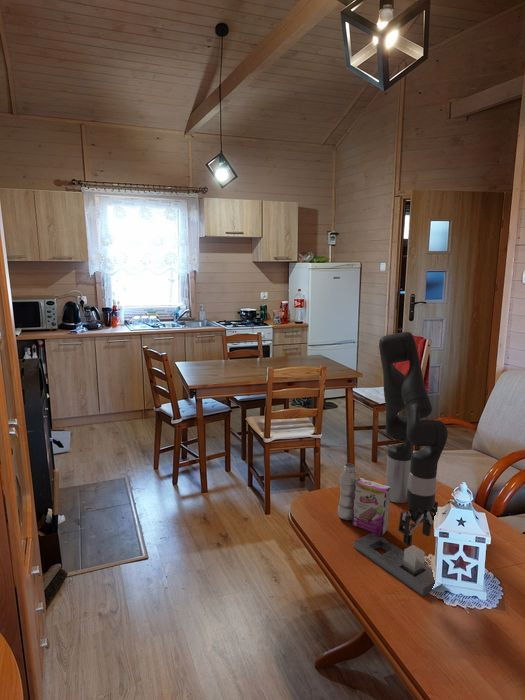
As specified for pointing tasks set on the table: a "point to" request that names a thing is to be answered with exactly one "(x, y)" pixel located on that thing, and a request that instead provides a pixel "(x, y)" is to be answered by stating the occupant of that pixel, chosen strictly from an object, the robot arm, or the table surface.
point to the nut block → (413, 560)
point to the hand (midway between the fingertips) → (416, 539)
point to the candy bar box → (371, 506)
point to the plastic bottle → (347, 492)
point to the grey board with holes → (394, 562)
